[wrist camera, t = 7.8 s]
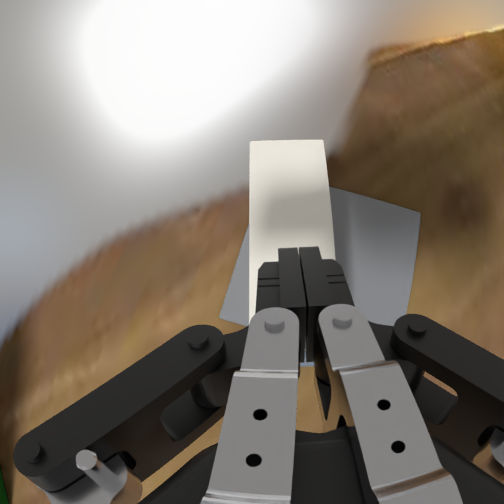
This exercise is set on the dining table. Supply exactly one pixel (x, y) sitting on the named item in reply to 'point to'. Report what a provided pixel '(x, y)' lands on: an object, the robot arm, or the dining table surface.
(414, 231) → the mat
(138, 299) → the dining table surface
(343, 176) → the dining table surface
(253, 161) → the block
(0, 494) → the milk carton
